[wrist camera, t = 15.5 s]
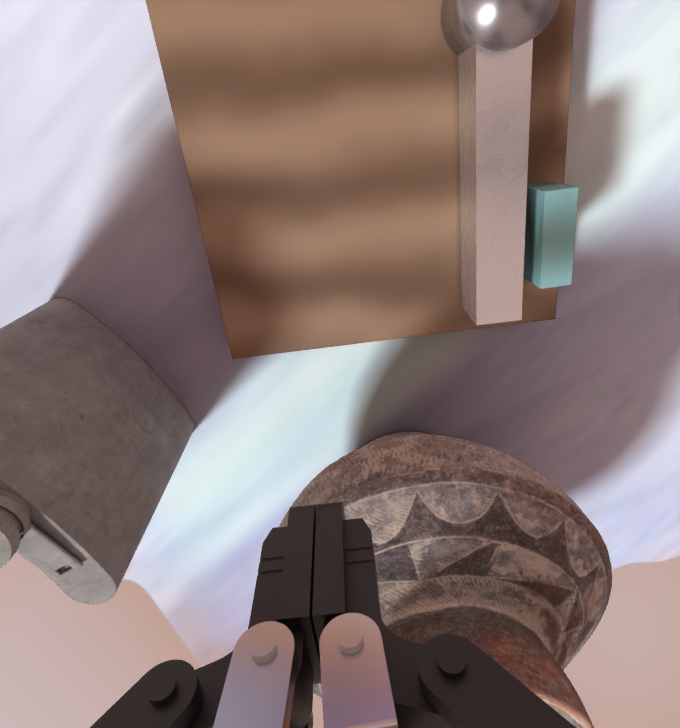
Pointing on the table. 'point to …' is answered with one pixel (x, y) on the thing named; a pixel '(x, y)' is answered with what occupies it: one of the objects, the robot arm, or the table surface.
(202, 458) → the table surface
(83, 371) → the hip flask
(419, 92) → the lock board
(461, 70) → the bar
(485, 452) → the ceramic pot
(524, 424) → the table surface
